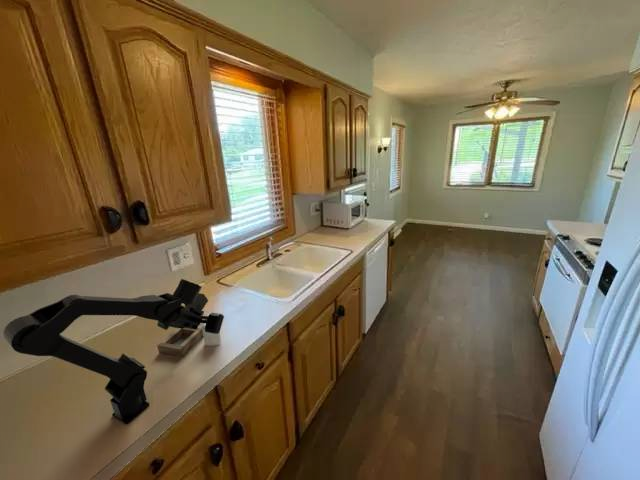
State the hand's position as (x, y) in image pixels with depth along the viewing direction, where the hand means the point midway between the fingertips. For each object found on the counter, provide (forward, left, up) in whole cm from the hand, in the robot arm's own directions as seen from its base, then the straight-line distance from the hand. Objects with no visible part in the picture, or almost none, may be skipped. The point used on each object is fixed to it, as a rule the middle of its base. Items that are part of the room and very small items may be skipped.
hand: (209, 325), depth 98 cm
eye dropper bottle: (0, 0, -8) cm, 8 cm away
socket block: (-5, +10, -8) cm, 14 cm away
